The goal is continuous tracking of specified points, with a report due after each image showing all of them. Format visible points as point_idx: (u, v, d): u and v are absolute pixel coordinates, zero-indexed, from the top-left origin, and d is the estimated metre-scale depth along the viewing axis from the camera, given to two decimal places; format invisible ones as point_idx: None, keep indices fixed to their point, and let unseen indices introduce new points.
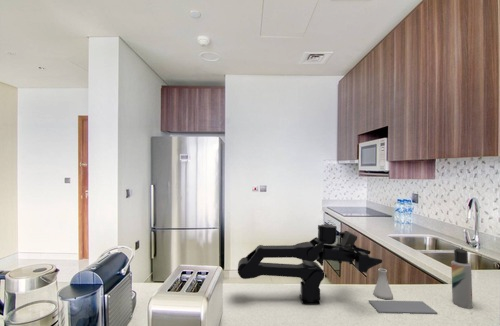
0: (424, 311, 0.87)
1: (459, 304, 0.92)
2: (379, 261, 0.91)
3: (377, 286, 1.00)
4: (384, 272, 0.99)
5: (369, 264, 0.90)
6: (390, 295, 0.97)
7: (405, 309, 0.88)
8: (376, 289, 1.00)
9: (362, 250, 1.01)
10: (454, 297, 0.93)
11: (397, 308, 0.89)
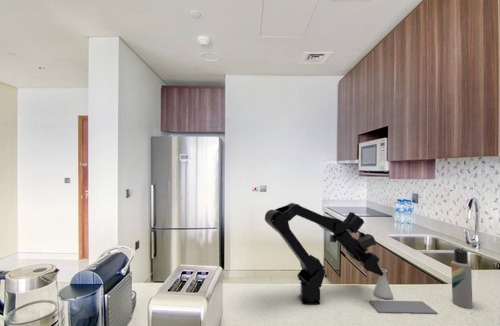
0: (424, 311, 0.87)
1: (459, 304, 0.92)
2: (380, 273, 0.95)
3: (377, 286, 1.00)
4: (384, 272, 0.99)
5: (372, 268, 0.94)
6: (390, 295, 0.97)
7: (405, 309, 0.88)
8: (376, 289, 1.00)
9: None
10: (454, 297, 0.93)
11: (397, 308, 0.89)
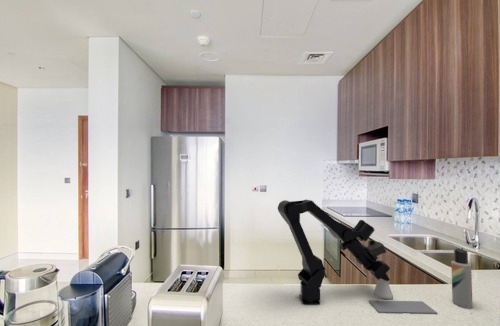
0: (424, 311, 0.87)
1: (459, 304, 0.92)
2: (386, 278, 0.98)
3: (377, 286, 1.00)
4: None
5: None
6: (390, 295, 0.97)
7: (405, 309, 0.88)
8: (376, 289, 1.00)
9: None
10: (454, 297, 0.93)
11: (397, 308, 0.89)
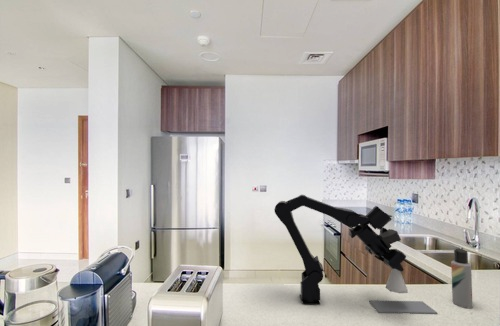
0: (424, 311, 0.87)
1: (459, 304, 0.92)
2: (400, 268, 0.90)
3: (390, 279, 0.92)
4: None
5: None
6: (404, 289, 0.89)
7: (405, 309, 0.88)
8: (389, 282, 0.92)
9: None
10: (454, 297, 0.93)
11: (397, 308, 0.89)
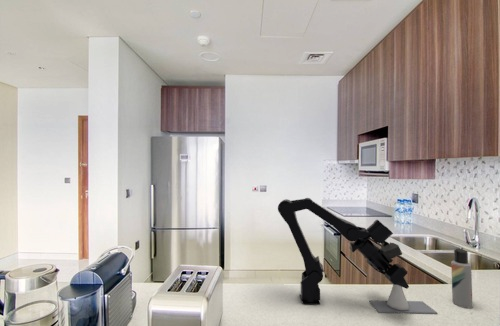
0: (424, 311, 0.87)
1: (459, 304, 0.92)
2: (406, 285, 0.87)
3: (391, 295, 0.91)
4: None
5: None
6: (406, 306, 0.88)
7: None
8: (390, 299, 0.91)
9: None
10: (454, 297, 0.93)
11: None
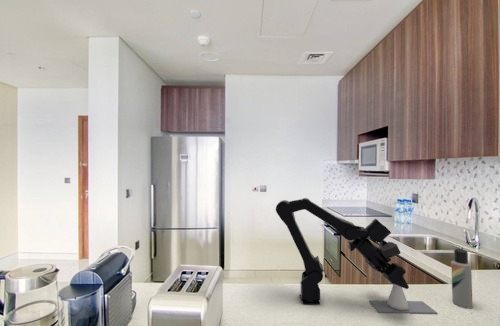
0: (424, 311, 0.87)
1: (459, 304, 0.92)
2: (406, 286, 0.86)
3: (391, 295, 0.91)
4: None
5: (397, 281, 0.85)
6: (406, 306, 0.88)
7: None
8: (390, 299, 0.91)
9: None
10: (454, 297, 0.93)
11: None
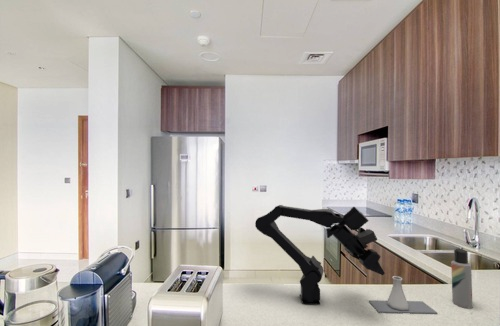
0: (424, 311, 0.87)
1: (459, 304, 0.92)
2: (381, 272, 0.87)
3: (391, 295, 0.91)
4: (399, 280, 0.90)
5: (372, 267, 0.86)
6: (406, 306, 0.88)
7: None
8: (390, 299, 0.91)
9: None
10: (454, 297, 0.93)
11: None
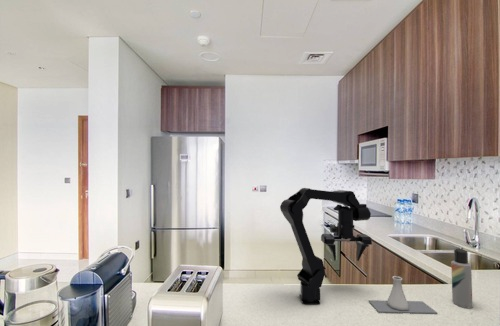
0: (424, 311, 0.87)
1: (459, 304, 0.92)
2: None
3: (391, 295, 0.91)
4: (399, 280, 0.90)
5: None
6: (406, 306, 0.88)
7: None
8: (390, 299, 0.91)
9: None
10: (454, 297, 0.93)
11: None
